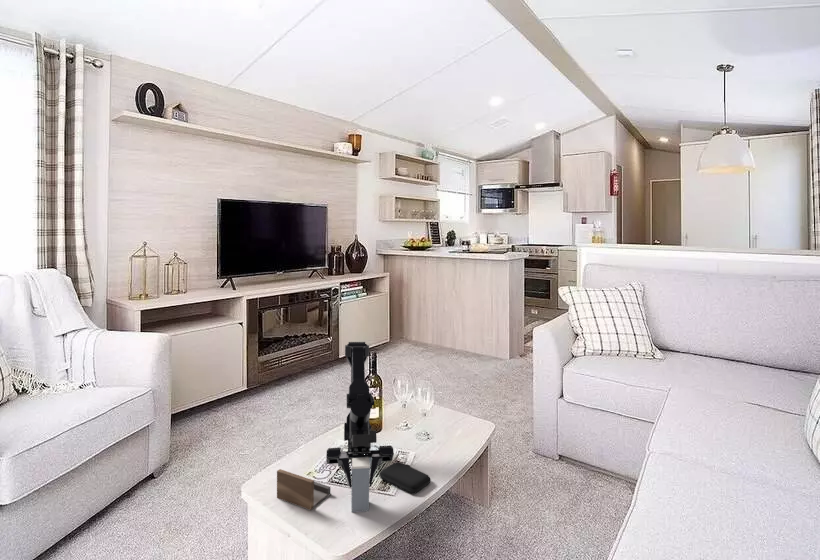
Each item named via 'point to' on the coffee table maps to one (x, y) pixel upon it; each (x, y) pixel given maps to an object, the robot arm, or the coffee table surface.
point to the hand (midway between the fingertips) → (360, 486)
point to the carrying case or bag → (405, 477)
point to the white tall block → (360, 484)
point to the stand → (300, 490)
